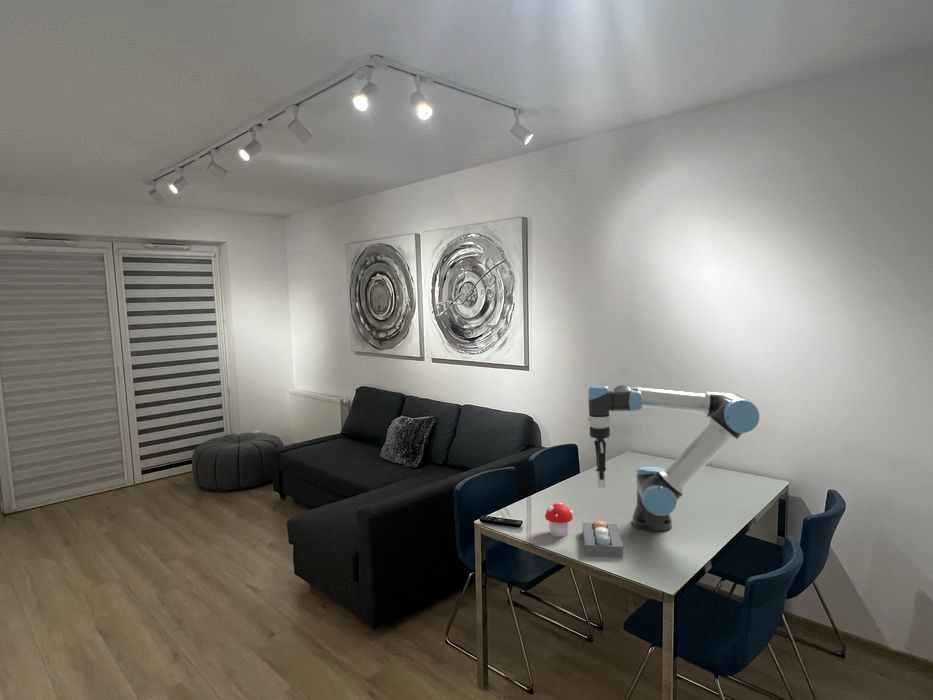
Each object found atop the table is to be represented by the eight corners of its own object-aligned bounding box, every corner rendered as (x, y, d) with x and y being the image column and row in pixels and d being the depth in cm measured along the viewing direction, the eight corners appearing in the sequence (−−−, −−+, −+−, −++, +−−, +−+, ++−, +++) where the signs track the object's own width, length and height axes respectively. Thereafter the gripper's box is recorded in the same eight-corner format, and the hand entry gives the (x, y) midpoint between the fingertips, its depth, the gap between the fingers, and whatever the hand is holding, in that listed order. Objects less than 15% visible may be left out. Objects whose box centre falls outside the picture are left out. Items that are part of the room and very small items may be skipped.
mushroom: (569, 527, 216) (569, 498, 215) (576, 539, 205) (575, 508, 204) (543, 528, 215) (542, 499, 214) (548, 540, 204) (547, 509, 203)
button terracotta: (606, 531, 208) (606, 520, 207) (607, 537, 203) (607, 525, 203) (593, 531, 209) (593, 520, 208) (594, 536, 204) (594, 525, 203)
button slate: (609, 546, 195) (609, 534, 195) (610, 552, 190) (610, 540, 190) (596, 546, 196) (595, 534, 195) (597, 551, 191) (596, 539, 191)
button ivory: (607, 538, 201) (607, 527, 201) (609, 544, 197) (608, 532, 196) (594, 538, 202) (594, 526, 202) (595, 544, 197) (595, 532, 197)
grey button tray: (616, 533, 208) (616, 523, 208) (623, 557, 189) (623, 546, 188) (582, 532, 210) (582, 522, 210) (585, 555, 191) (585, 545, 190)
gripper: (587, 422, 211) (589, 481, 213) (591, 430, 198) (593, 492, 200) (607, 422, 210) (609, 481, 212) (612, 430, 197) (613, 492, 199)
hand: (601, 486), depth 206 cm, fingers closed
